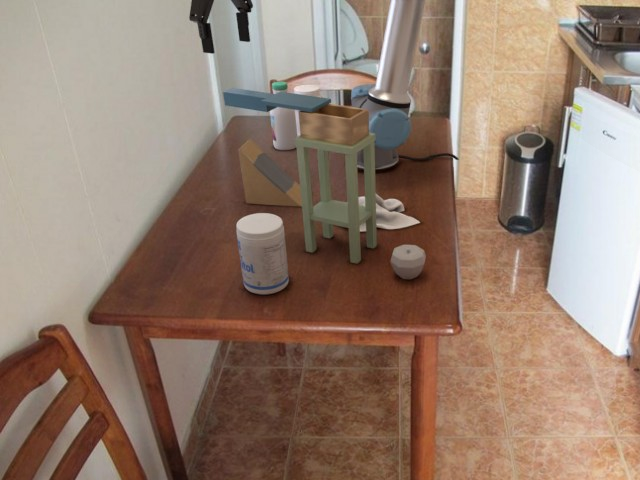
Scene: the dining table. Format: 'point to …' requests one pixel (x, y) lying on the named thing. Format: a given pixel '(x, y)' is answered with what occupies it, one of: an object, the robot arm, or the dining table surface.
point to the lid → (272, 100)
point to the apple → (408, 261)
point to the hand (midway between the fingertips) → (227, 47)
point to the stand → (335, 210)
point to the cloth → (389, 214)
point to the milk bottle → (283, 122)
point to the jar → (309, 91)
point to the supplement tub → (262, 253)
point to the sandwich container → (266, 179)
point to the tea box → (335, 124)
